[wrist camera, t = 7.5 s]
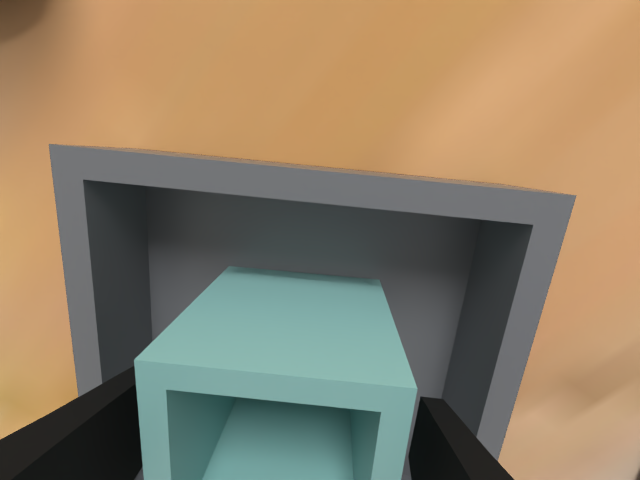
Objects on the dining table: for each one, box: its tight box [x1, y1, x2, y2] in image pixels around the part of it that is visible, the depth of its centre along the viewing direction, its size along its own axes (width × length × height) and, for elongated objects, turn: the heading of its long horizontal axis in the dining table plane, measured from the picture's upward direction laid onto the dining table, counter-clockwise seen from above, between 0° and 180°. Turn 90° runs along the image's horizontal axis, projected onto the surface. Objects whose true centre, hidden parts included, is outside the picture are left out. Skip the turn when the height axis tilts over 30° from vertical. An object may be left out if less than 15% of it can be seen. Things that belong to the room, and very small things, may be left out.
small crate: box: [134, 266, 417, 480], centre depth 9 cm, size 5×5×6 cm
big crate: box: [49, 144, 576, 480], centre depth 11 cm, size 13×13×4 cm
